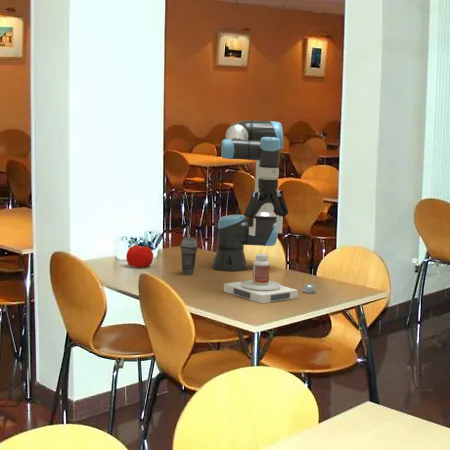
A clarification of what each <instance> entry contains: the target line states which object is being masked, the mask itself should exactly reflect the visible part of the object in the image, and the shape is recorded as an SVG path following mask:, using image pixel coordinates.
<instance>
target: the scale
mask: <svg viewBox="0 0 450 450" xmlns="http://www.w3.org/2000/svg"><path fill="white" fill-rule="evenodd" d="M223 292H225V293H228V294H231V295H234V296H237V297H239V298H243V299H245V300H249V301H252V302H255V303H258V304H262V305H263V304H268V303H274V302H281V301H287V300H294V299H298V295H299V294H298V293H299V290H298V289H294V288H291V287H287V286H284V285H282V284H281V283H280V282H277V281H273V280H269V284H267V285H256V284H253V279H247V280H246V279H245V280H242V281H235V282H227V283H224V284H223Z"/></svg>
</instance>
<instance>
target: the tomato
mask: <svg viewBox="0 0 450 450" xmlns="http://www.w3.org/2000/svg"><path fill="white" fill-rule="evenodd" d="M125 257H126V259H125V260H126V263H127V264H128V265H129V266H130V267H135V268H138V269H141V268H148V267H150V266H151V264H153V261H154V253H153V250H152V249H151V248H150V247H148V246H143V245H142V246H140V245H137V244H134V245H132V246H130V247H129V248H128V250H127V253H126V256H125Z"/></svg>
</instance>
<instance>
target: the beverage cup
mask: <svg viewBox="0 0 450 450" xmlns="http://www.w3.org/2000/svg"><path fill="white" fill-rule="evenodd" d="M186 229H187V236H186V237H184V238H183V239H182V241H181V243H180V252H181V268H182V269H181V271H182V274H183V275H185V276H192V275H194V273H195V272H194V271H195V267H196V265H195V264H196V257H197V252H198V243H197V240H196V239H195V238H194V237H191V236H190V233H189V231H190V228H189V226H187V228H186Z"/></svg>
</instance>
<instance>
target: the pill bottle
mask: <svg viewBox="0 0 450 450" xmlns="http://www.w3.org/2000/svg"><path fill="white" fill-rule="evenodd" d="M268 259H269V255H268V254H264V253H257V254H255V260H254V261H253V263H252V264H253V267H252V268H253V269H252V270H253V271H252V280H253V284H256V285H267V284H269V281H270V261H269V260H268Z"/></svg>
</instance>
